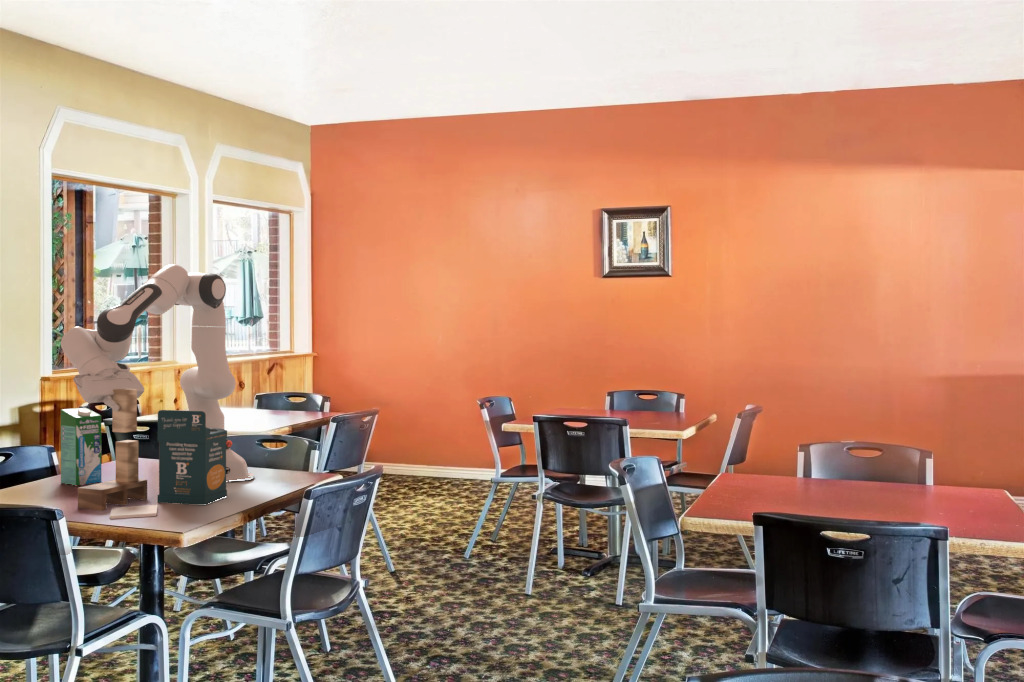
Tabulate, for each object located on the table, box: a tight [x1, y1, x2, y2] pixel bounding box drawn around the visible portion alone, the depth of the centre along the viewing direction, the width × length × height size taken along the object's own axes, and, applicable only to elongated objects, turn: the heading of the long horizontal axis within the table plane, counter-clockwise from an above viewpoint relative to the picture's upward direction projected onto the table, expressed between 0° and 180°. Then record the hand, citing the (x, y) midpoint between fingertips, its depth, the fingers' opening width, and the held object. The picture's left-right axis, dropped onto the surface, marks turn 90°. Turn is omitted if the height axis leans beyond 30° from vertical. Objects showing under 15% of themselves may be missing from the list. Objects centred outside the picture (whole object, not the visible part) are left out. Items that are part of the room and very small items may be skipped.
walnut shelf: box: [77, 478, 148, 512], centre depth 264 cm, size 18×9×6 cm, turn 161°
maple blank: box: [111, 389, 138, 433], centre depth 252 cm, size 4×4×12 cm
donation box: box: [157, 409, 228, 505], centre depth 271 cm, size 16×16×28 cm
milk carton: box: [60, 407, 102, 486], centre depth 297 cm, size 9×9×25 cm
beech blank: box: [115, 439, 140, 482], centre depth 269 cm, size 4×4×12 cm
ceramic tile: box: [109, 504, 159, 520], centre depth 251 cm, size 12×12×1 cm
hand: (126, 409), depth 252 cm, fingers closed on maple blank, 4 cm apart
